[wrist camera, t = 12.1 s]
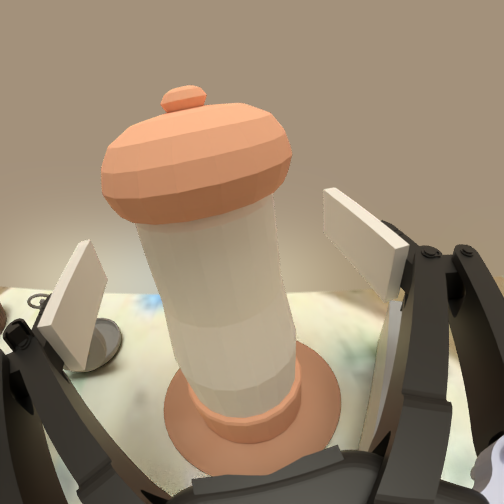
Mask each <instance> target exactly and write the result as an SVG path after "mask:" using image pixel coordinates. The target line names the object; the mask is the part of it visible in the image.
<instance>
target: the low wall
mask: <svg viewBox="0 0 504 504" xmlns="http://www.w3.org/2000/svg"><path fill="white" fill-rule="evenodd" d="M401 306H402V302H400V301H392V300H390V301H389V305H388V309H387V313H386V317H385V320H384V324H383V327H382V331H381V334H380V337H379V341H378V346H377V354H376V361H375V368H374V375H373V381H372V387H371V393H370V398H369V403H368V408H367V413H366V418H365V423H364V427H363V431H362V436H361V440H360V444H359V448H358V450H360V451H367V452H368V450H369V447H370V445H371V442H372V440H373V438H374V436H375V434H376V431H377V428H378V425H379V422H380V418H381V415H382V411H383V407H384V404H385V400H386V396H387V392H388V387H389V383H390V379H391V374H392V369H393V364H394V359H395V354H396V348H397V343H398V336H399V330H400V323H401V316H402V311H400V309H401Z"/></svg>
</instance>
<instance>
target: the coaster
mask: <svg viewBox="0 0 504 504" xmlns="http://www.w3.org/2000/svg"><path fill="white" fill-rule="evenodd" d="M296 357H297V359H298V361H299V364H300V366H301V406H300V409H299V412H298V414H297V417H296V419H295V420H294V421H293V423H292V424H291V425H290V426H289V427H288V428H287V429H286V431H284V432H283V433H281V434H279V435H278V436H276V437H274V438H273V439H271V440H267V441H263V442H259V443H255V444H246V443H235V442H232V441H229V440H227V439H224V438H222V437H220V436H219V435H217V434H216V433H215V432H214V431H212V430H211V429H210V428H209V427H208V425H207V424H206V422H205V421H204V419H203V418H202V416H201V414H200V413H199V411H198V410H197V408H196V406H195V404H194V403H193V401H192V399H191V397H190V395H189V390H188V381H187V379H186V378H185V376H184V374H183V373H182V371H181V369H179V370H178V371H177V372H176V374H175V376H174V377H173V379H172V381H171V383H170V385H169V387H168V390H167V393H166V397H165V402H164V420H165V425H166V429H167V431H168V434H169V437H170V439H171V440H172V442H173V444H174V446H175V447H176V448H177V450H178V451H179V452H180V454H181V455H182V456H183V457H184V458H185V459H186V460H188V461H189V462H190V463H191V464H192V465H194V466H195V467H196V468H198V469H199V470H201V471H203V472H205V473H207V474H209V475H211V476H220V475H227V474H229V475H269V474H272V473H274V472H276V471H277V470H279V469H281V468H283V467H285V466H287V465H289V464H291V463H293V462H294V461H296V460H298V459H300V458H301V457H303V456H306V455H310V454H313V453H316V452H319V451H322V450H324V448H325V447H326V446H327V444H328V443H329V441H330V439H331V438H332V436H333V434H334V432H335V429H336V426H337V423H338V421H339V416H340V411H341V395H340V389H339V385H338V382H337V379H336V377H335V375H334V373H333V371H332V370H331V368H330V367H329V365H328V364H327V363H326V361H325V360H324V359H323V358H322V357H321V356H320V355H319V354H317V353H316V352H315V351H314V350H312V349H311V348H309V347H308V346H306V345H304V344H302V343H300V342H298V341H296Z"/></svg>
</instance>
